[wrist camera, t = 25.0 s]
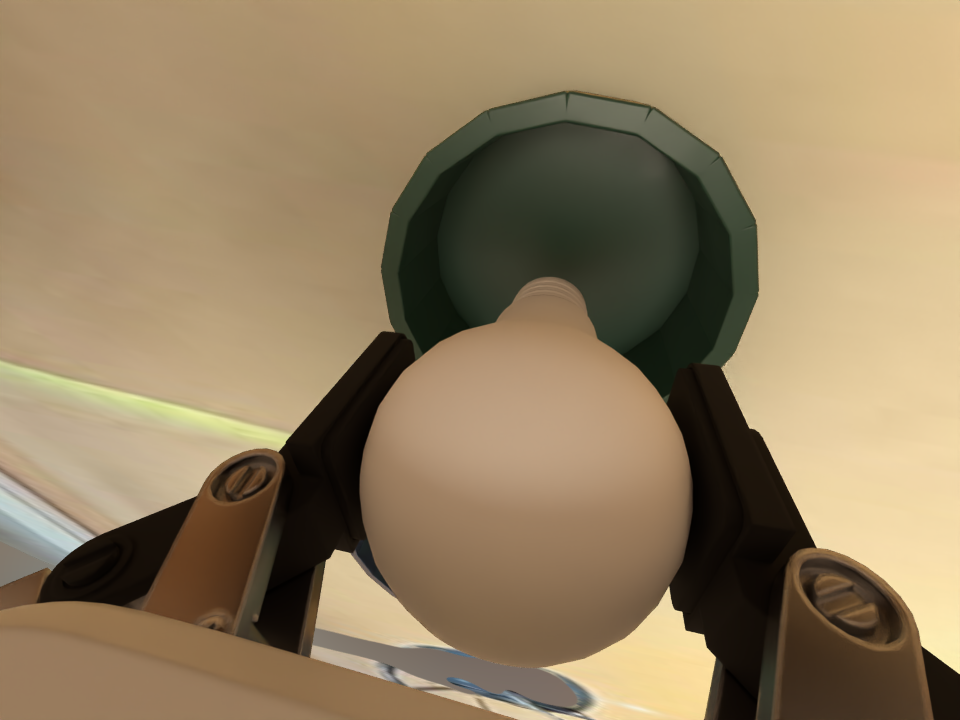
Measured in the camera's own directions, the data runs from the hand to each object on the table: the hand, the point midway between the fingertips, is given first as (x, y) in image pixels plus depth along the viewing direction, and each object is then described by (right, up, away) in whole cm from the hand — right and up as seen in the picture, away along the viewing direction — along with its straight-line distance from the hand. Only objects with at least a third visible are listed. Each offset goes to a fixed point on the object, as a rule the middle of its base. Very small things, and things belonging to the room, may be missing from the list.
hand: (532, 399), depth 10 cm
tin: (+2, +5, +8) cm, 10 cm away
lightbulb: (+1, +3, +5) cm, 6 cm away
